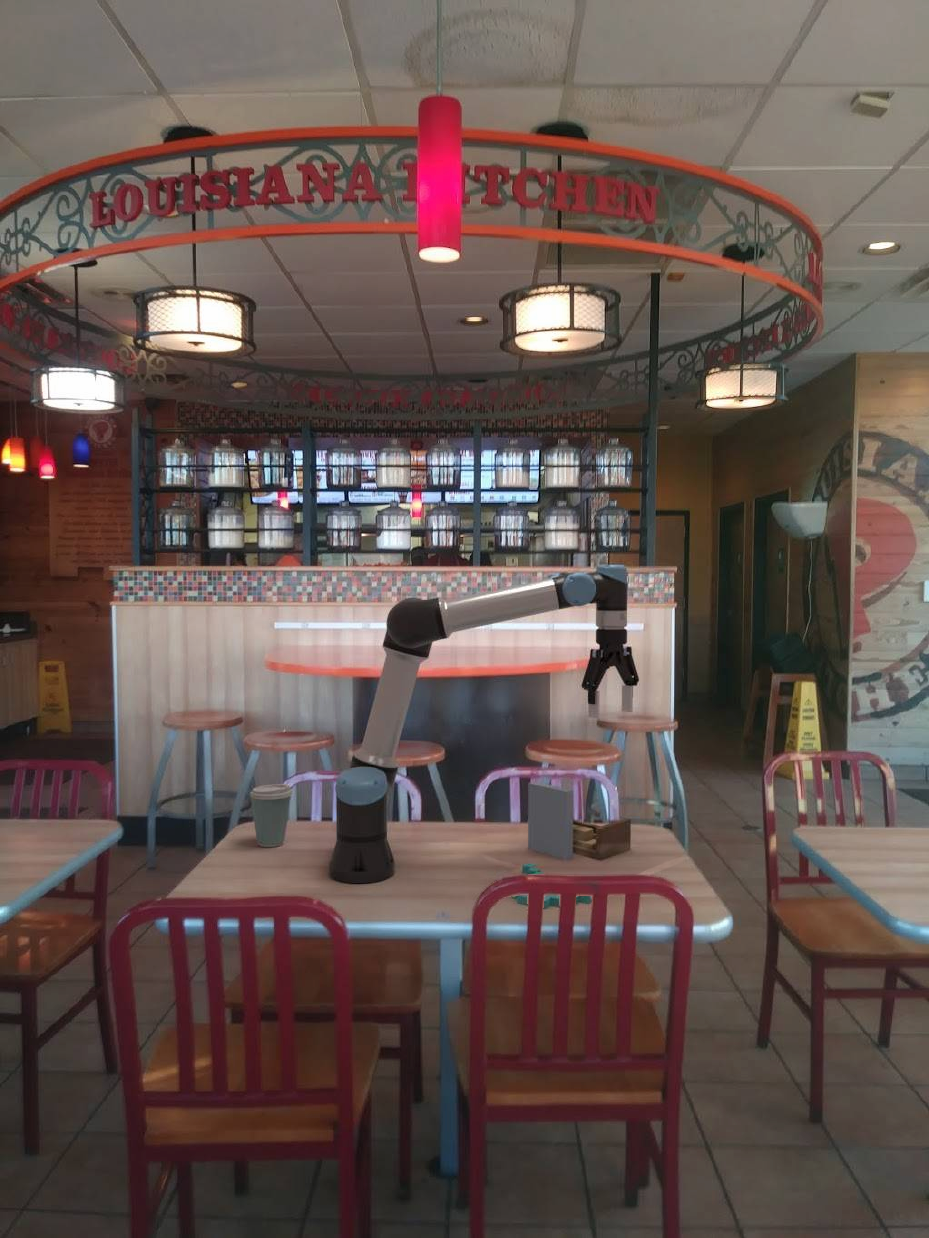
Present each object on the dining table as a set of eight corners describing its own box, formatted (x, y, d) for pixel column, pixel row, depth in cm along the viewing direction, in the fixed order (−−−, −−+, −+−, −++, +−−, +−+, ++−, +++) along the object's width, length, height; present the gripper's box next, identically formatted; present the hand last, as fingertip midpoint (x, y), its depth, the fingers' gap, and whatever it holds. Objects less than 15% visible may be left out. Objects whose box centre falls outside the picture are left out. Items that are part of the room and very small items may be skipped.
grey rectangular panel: (528, 851, 216) (528, 783, 215) (534, 849, 218) (535, 781, 217) (566, 862, 207) (566, 791, 207) (572, 860, 209) (573, 789, 208)
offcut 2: (553, 844, 220) (553, 834, 220) (563, 840, 223) (563, 831, 222) (591, 854, 211) (592, 844, 211) (602, 851, 214) (602, 841, 214)
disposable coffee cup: (242, 848, 221) (241, 789, 220) (262, 836, 231) (261, 780, 231) (281, 851, 219) (280, 792, 218) (299, 839, 229) (298, 782, 228)
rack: (536, 848, 221) (536, 812, 221) (566, 838, 230) (566, 804, 229) (600, 866, 207) (601, 829, 207) (630, 855, 215) (630, 819, 215)
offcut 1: (555, 834, 219) (555, 824, 219) (562, 832, 222) (563, 822, 221) (586, 841, 213) (586, 831, 213) (593, 838, 216) (593, 828, 216)
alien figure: (526, 872, 205) (488, 900, 187) (526, 862, 205) (488, 889, 187) (608, 886, 195) (577, 916, 178) (608, 876, 195) (577, 906, 178)
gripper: (592, 630, 202) (591, 722, 203) (653, 626, 220) (652, 710, 221) (567, 629, 208) (566, 718, 209) (628, 625, 225) (627, 707, 226)
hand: (610, 714), depth 215 cm, fingers open, 13 cm apart
